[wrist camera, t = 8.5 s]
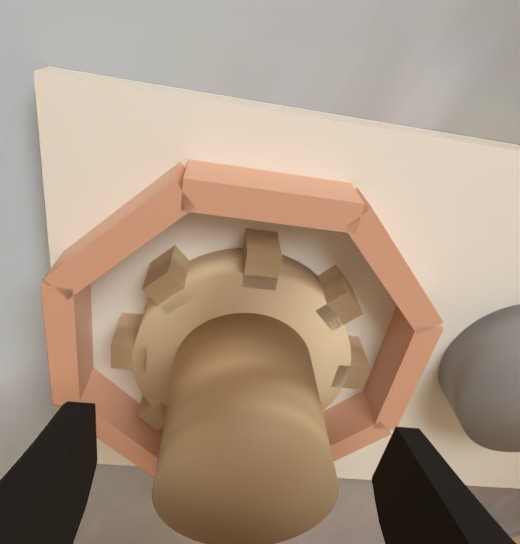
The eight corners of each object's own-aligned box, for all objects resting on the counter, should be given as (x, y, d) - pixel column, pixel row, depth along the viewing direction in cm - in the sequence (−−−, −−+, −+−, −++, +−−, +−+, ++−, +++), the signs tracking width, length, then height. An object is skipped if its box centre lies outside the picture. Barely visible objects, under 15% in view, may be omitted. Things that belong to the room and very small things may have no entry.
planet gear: (389, 246, 13) (481, 384, 8) (327, 423, 16) (364, 588, 12) (123, 212, 12) (48, 344, 7) (121, 408, 16) (72, 580, 11)
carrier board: (723, 178, 13) (832, 215, 11) (514, 468, 20) (553, 530, 18) (49, 66, 11) (-4, 80, 8) (75, 440, 18) (50, 507, 15)
